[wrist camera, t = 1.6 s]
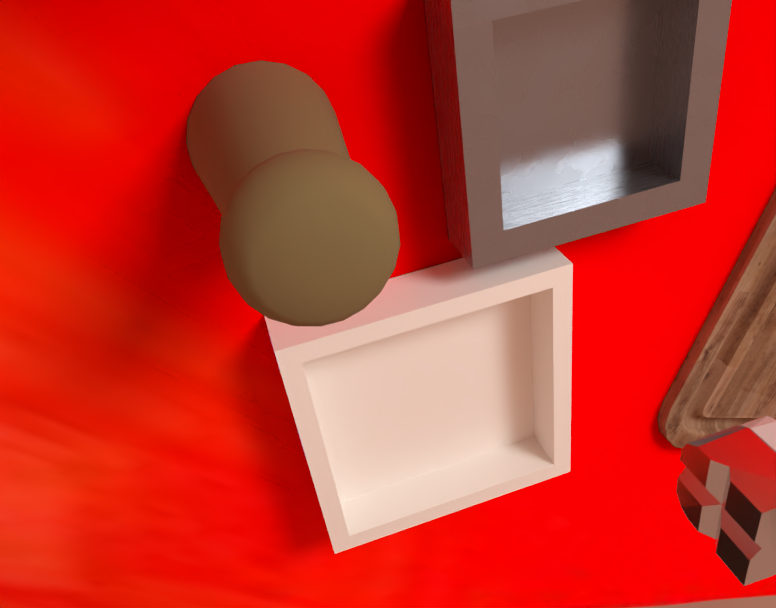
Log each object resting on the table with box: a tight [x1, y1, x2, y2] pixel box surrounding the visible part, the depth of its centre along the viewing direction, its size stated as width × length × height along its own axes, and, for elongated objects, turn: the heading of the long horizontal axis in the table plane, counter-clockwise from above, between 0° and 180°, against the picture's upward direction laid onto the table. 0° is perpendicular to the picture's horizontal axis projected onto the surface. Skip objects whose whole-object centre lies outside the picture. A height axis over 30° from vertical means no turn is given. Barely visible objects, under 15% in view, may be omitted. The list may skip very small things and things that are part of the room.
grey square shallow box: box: [424, 0, 732, 270], centre depth 29 cm, size 12×12×3 cm
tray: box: [264, 246, 573, 554], centre depth 36 cm, size 14×14×3 cm
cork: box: [186, 61, 400, 326], centre depth 23 cm, size 6×6×11 cm
